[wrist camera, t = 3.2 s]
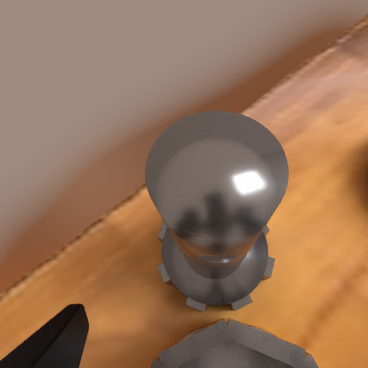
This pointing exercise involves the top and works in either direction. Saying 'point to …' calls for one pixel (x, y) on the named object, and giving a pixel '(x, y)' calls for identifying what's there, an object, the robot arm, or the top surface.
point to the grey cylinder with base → (216, 205)
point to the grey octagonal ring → (233, 349)
